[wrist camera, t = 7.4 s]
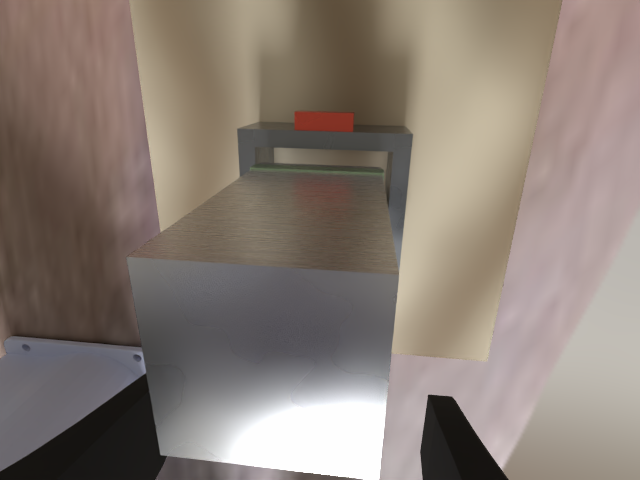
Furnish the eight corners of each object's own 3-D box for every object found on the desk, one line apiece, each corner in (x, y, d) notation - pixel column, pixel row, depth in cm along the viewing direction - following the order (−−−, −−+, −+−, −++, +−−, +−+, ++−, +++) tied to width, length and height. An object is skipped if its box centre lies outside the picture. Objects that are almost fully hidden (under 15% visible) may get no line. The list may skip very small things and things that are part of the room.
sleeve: (263, 253, 19) (245, 283, 16) (258, 106, 16) (236, 110, 13) (392, 262, 18) (397, 294, 15) (406, 110, 16) (415, 115, 13)
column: (263, 271, 15) (158, 456, 7) (259, 160, 13) (122, 254, 6) (374, 278, 14) (380, 482, 7) (382, 165, 13) (403, 271, 5)
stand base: (186, 319, 22) (174, 334, 21) (146, -9, 17) (126, -18, 15) (478, 343, 21) (486, 361, 19) (548, -11, 15) (566, -21, 14)
